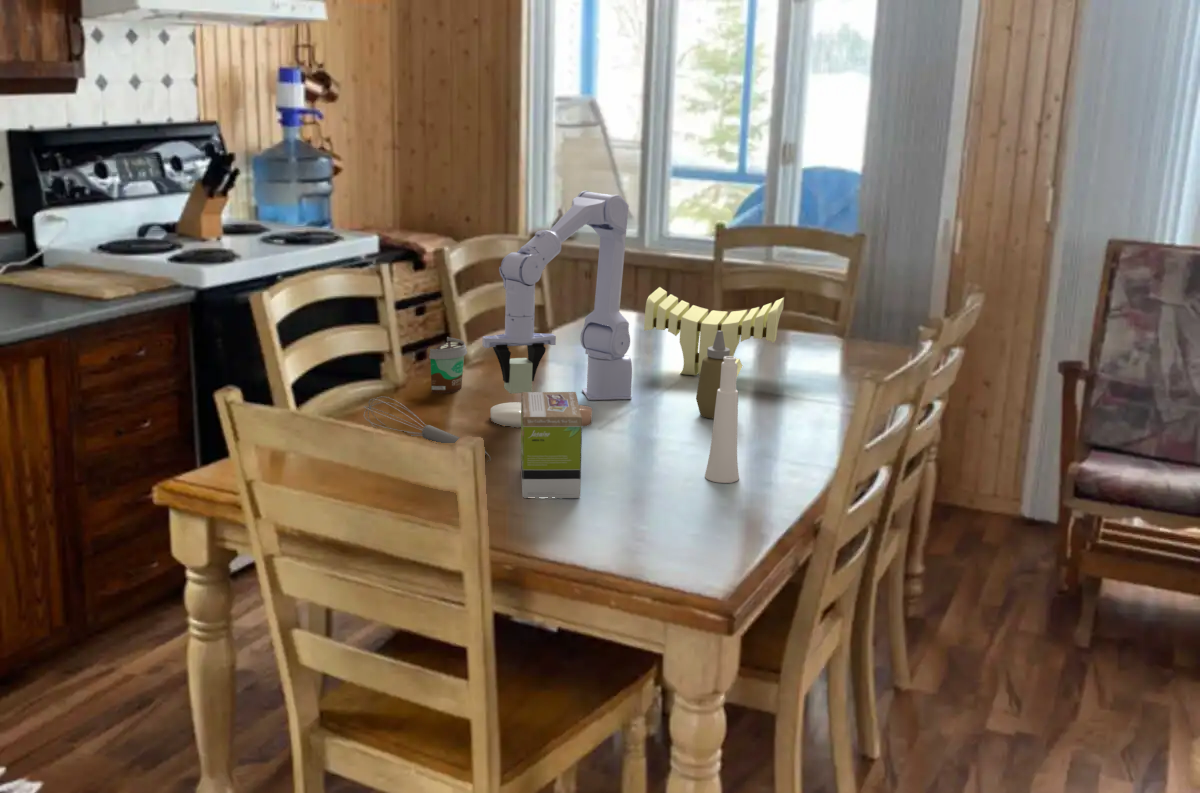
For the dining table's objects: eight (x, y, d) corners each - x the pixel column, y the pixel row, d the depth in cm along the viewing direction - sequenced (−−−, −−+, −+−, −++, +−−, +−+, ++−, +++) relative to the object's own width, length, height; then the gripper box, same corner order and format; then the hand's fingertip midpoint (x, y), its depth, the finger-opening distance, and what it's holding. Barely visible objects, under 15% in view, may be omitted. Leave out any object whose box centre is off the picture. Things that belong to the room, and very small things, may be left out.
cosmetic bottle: (743, 482, 212) (752, 361, 206) (710, 484, 211) (718, 362, 205) (732, 471, 218) (741, 352, 212) (700, 472, 216) (708, 353, 210)
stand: (540, 410, 250) (540, 401, 249) (549, 426, 239) (549, 417, 239) (487, 412, 248) (487, 402, 247) (494, 428, 237) (494, 418, 237)
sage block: (525, 386, 245) (526, 357, 243) (531, 392, 241) (532, 363, 239) (504, 387, 243) (504, 358, 242) (510, 393, 239) (510, 364, 238)
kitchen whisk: (478, 468, 215) (478, 434, 213) (356, 428, 236) (355, 396, 234) (502, 460, 220) (503, 427, 218) (381, 421, 240) (380, 391, 239)
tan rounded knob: (588, 419, 246) (589, 404, 245) (593, 426, 241) (594, 411, 241) (564, 419, 245) (565, 405, 244) (569, 427, 240) (569, 412, 240)
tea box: (519, 469, 215) (520, 389, 211) (575, 470, 215) (578, 390, 211) (520, 500, 200) (522, 414, 196) (581, 500, 201) (584, 415, 197)
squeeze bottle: (737, 413, 254) (743, 329, 249) (728, 423, 246) (734, 337, 241) (700, 408, 256) (705, 325, 251) (690, 418, 249) (695, 333, 244)
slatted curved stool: (642, 373, 282) (645, 298, 277) (656, 358, 297) (659, 286, 292) (770, 386, 275) (776, 310, 270) (778, 370, 290) (784, 297, 285)
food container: (456, 397, 257) (457, 351, 255) (429, 394, 258) (429, 349, 256) (474, 382, 269) (474, 339, 266) (447, 380, 270) (447, 336, 267)
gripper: (549, 308, 244) (547, 374, 247) (478, 311, 239) (478, 377, 243) (559, 316, 237) (557, 382, 241) (487, 318, 232) (486, 386, 236)
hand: (518, 380), depth 241 cm, fingers closed on sage block, 4 cm apart
